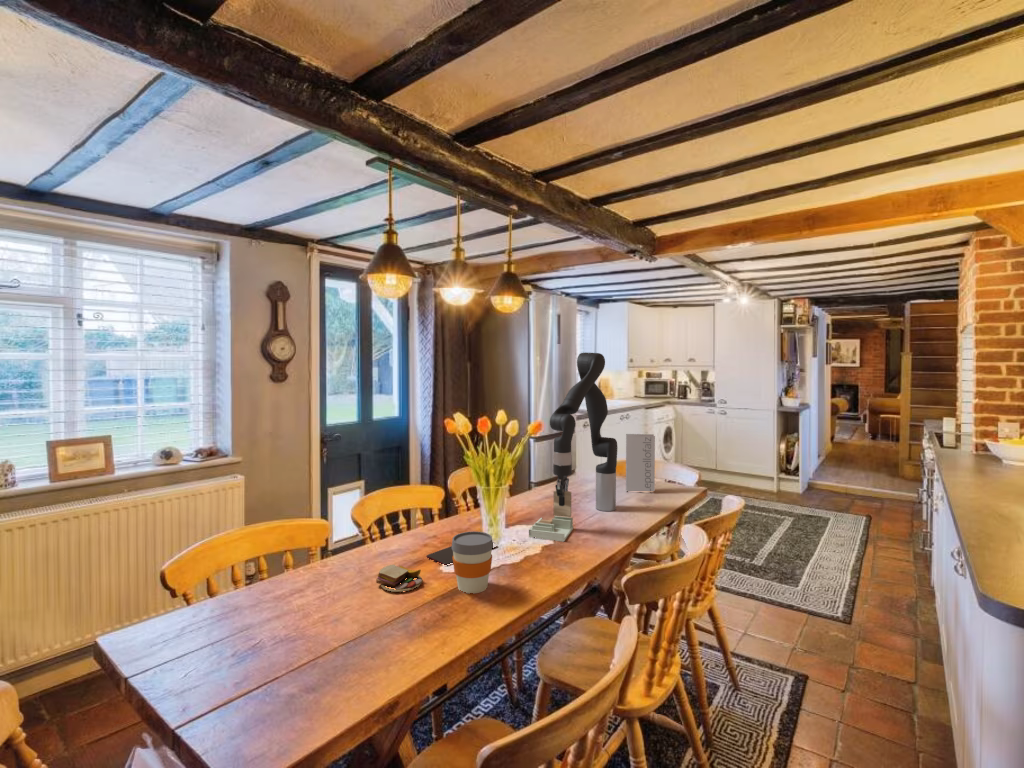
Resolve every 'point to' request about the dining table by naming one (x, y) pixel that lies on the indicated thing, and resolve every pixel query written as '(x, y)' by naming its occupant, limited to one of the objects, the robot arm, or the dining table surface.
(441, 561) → the smartphone
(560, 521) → the tray
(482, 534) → the reusable coffee cup
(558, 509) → the tan rectangular block
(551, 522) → the offcuts
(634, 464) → the brochure
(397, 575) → the toy sandwich meal
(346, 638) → the dining table surface
